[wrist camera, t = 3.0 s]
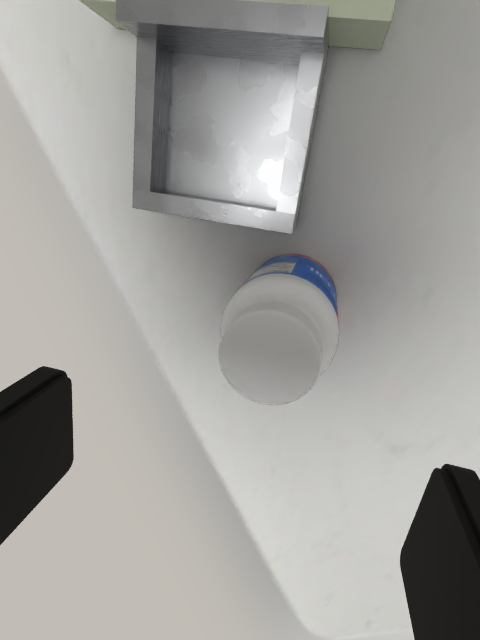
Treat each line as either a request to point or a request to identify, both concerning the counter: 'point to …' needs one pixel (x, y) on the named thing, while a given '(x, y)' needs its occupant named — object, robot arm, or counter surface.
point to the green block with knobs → (344, 19)
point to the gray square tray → (225, 106)
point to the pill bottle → (280, 330)
